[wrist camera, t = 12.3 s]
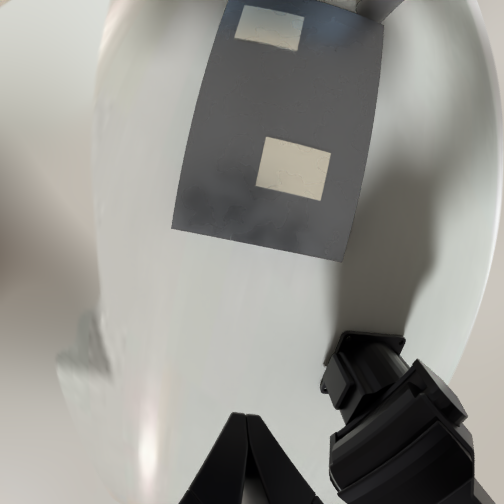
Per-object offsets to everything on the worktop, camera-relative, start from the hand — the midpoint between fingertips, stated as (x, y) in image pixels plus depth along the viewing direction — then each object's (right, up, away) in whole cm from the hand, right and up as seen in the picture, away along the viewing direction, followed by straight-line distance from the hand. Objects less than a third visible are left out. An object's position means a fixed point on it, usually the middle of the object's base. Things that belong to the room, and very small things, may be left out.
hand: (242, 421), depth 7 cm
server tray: (+2, +14, +10) cm, 18 cm away
